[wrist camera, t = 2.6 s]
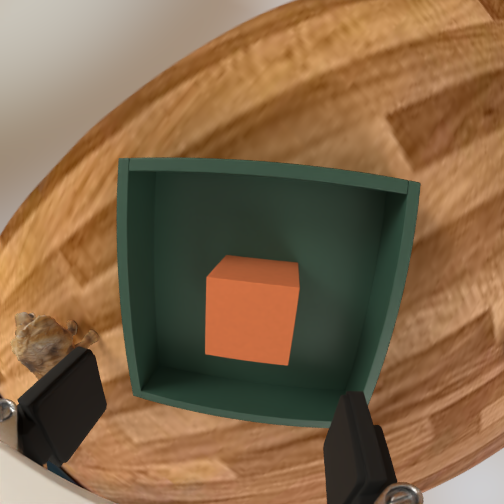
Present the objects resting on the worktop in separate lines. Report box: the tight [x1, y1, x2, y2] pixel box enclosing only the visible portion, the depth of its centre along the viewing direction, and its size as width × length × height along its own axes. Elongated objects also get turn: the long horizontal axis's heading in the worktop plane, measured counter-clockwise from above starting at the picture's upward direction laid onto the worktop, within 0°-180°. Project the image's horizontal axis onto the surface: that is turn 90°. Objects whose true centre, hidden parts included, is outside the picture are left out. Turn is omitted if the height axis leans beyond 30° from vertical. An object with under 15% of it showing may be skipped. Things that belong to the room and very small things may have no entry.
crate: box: [117, 158, 421, 428], centre depth 19 cm, size 18×18×4 cm
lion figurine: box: [11, 312, 98, 380], centre depth 21 cm, size 15×5×9 cm, turn 160°
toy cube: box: [205, 255, 300, 365], centre depth 19 cm, size 5×5×5 cm
